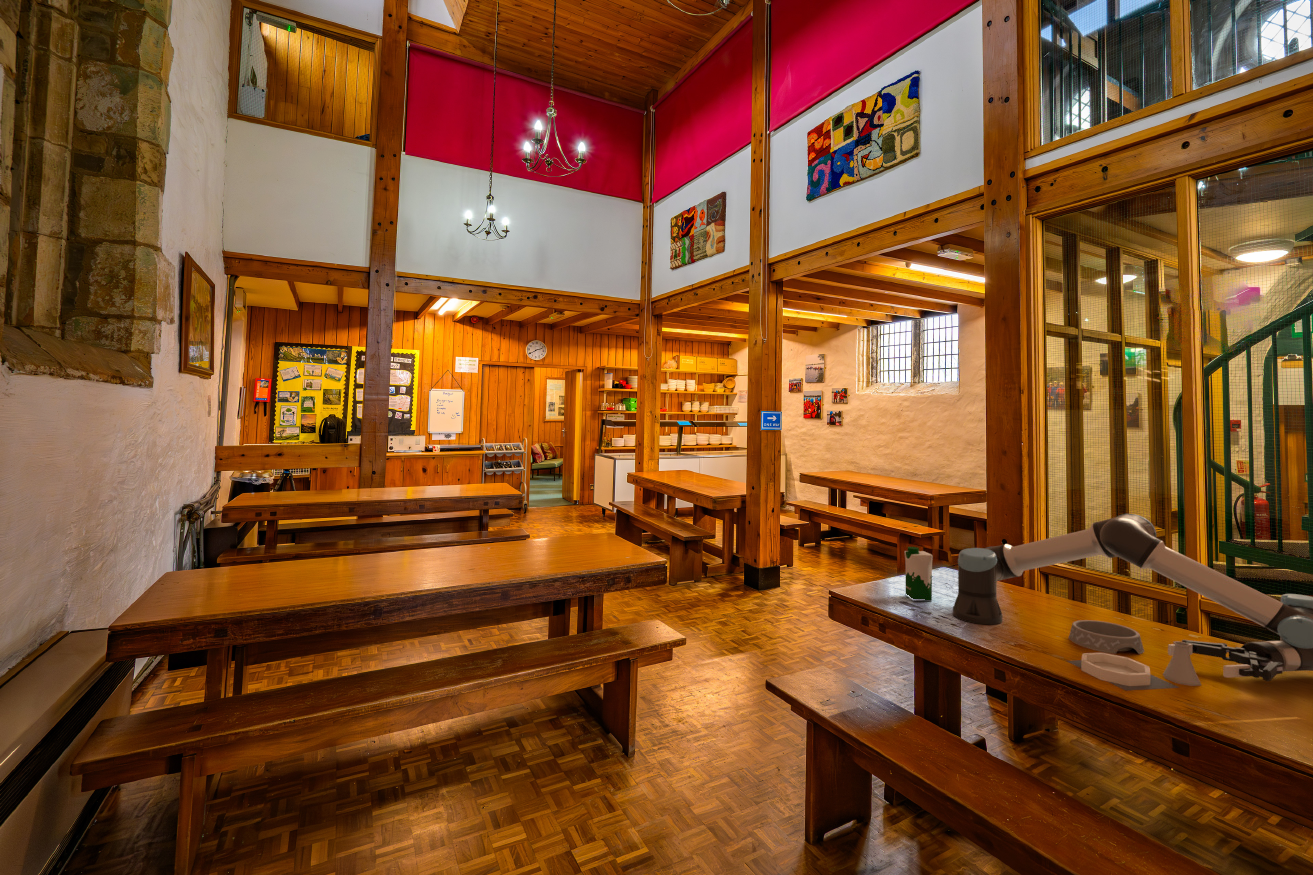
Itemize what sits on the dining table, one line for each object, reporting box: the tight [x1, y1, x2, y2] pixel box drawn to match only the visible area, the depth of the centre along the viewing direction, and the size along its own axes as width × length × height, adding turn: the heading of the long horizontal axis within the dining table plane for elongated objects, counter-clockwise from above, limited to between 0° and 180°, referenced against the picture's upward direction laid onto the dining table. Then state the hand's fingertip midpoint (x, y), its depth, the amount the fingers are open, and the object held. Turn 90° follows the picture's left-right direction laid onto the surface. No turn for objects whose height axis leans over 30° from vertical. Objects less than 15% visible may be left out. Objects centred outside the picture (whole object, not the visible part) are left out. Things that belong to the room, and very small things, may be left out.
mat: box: [1066, 659, 1180, 692], centre depth 149 cm, size 18×15×1 cm
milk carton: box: [904, 546, 934, 601], centre depth 217 cm, size 9×9×20 cm
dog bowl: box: [1068, 619, 1145, 655], centre depth 170 cm, size 17×18×5 cm
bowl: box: [1080, 652, 1151, 686], centre depth 149 cm, size 14×14×3 cm
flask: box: [1162, 640, 1202, 687], centre depth 145 cm, size 7×7×10 cm
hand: (1195, 660), depth 145 cm, fingers open, 13 cm apart
